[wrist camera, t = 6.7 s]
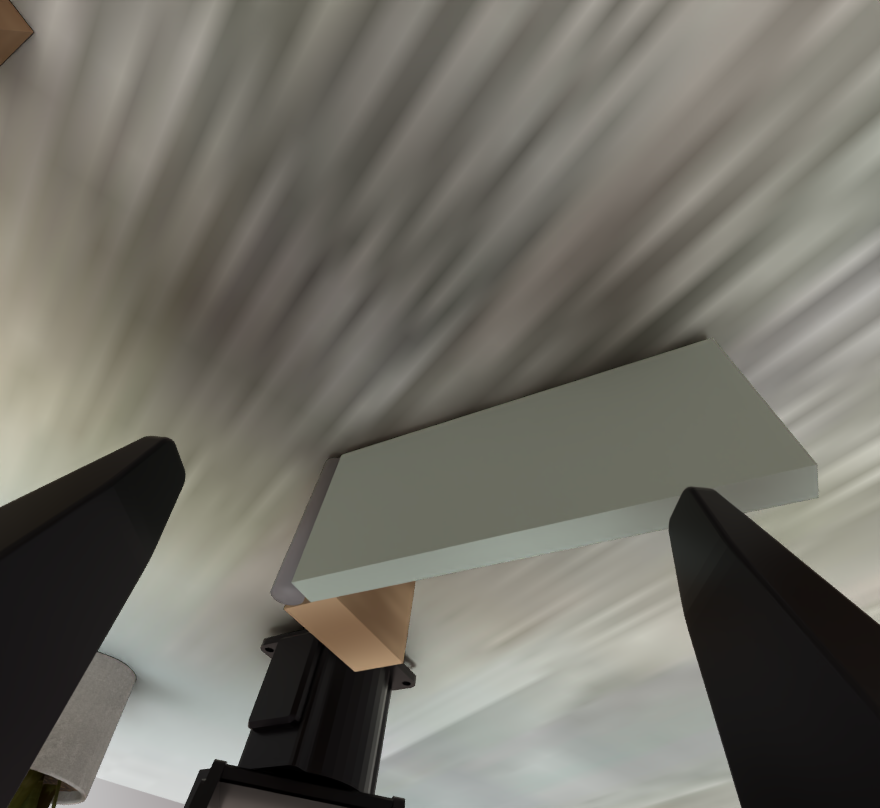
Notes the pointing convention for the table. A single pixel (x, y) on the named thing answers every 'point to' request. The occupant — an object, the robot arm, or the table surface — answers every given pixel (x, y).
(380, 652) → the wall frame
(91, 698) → the house plant
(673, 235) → the table surface
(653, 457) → the door
